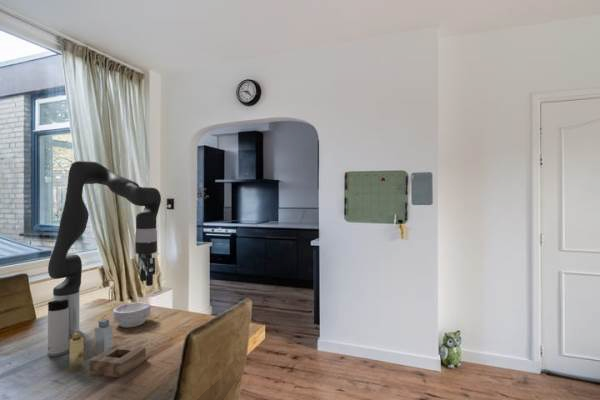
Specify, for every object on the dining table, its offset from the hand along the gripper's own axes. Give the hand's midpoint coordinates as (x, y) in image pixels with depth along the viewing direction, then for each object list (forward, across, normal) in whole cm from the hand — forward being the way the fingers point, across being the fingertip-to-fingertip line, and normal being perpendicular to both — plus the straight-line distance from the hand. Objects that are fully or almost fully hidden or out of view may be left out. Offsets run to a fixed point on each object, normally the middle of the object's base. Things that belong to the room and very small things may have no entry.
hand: (146, 283), depth 126 cm
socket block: (+26, +6, -10) cm, 28 cm away
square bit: (+26, -9, -13) cm, 30 cm away
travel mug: (+26, -19, -26) cm, 41 cm away
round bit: (+26, -1, -22) cm, 34 cm away
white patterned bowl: (+26, -33, +2) cm, 42 cm away
